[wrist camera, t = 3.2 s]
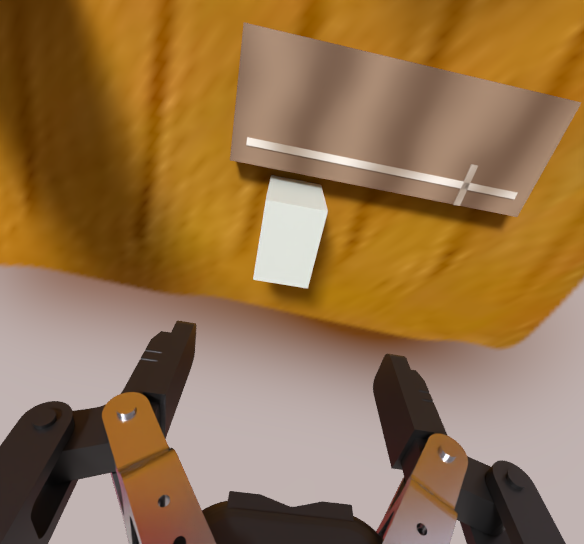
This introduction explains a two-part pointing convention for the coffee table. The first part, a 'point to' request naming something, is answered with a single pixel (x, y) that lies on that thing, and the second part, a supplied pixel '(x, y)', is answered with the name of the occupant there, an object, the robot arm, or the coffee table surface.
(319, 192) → the block
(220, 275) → the coffee table surface
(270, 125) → the bronze metal plate
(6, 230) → the coffee table surface
